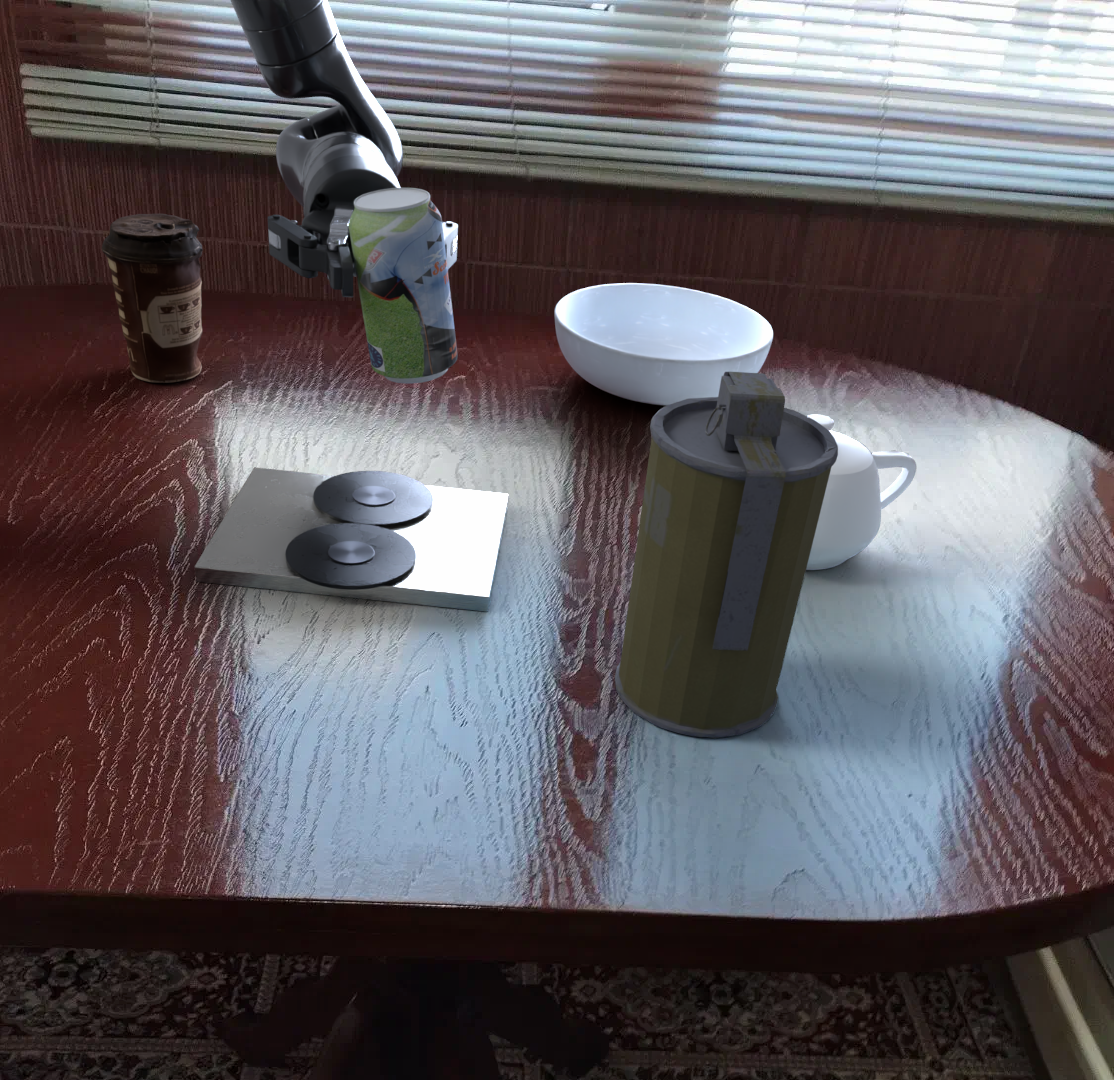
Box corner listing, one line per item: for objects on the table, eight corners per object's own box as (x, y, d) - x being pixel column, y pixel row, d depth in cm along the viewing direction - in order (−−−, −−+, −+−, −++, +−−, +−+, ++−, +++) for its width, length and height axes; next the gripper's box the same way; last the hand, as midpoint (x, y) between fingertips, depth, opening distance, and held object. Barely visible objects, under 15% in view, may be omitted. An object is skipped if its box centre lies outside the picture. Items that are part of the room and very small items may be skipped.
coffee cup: (235, 370, 112) (224, 223, 104) (177, 397, 106) (161, 244, 98) (160, 349, 115) (143, 204, 107) (98, 374, 109) (76, 223, 101)
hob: (191, 589, 81) (188, 568, 80) (258, 475, 96) (256, 456, 95) (486, 619, 81) (488, 599, 80) (509, 501, 96) (510, 483, 95)
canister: (606, 642, 80) (646, 346, 68) (758, 647, 82) (823, 357, 70) (624, 741, 72) (673, 422, 60) (794, 746, 73) (876, 434, 61)
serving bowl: (505, 372, 118) (509, 301, 114) (652, 337, 130) (661, 272, 126) (657, 449, 106) (668, 373, 102) (803, 403, 118) (819, 333, 114)
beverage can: (465, 391, 83) (473, 207, 76) (358, 394, 81) (356, 205, 74) (446, 358, 88) (452, 181, 80) (344, 359, 86) (341, 178, 78)
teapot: (701, 593, 87) (725, 462, 81) (639, 514, 96) (657, 391, 90) (938, 570, 93) (977, 447, 87) (858, 498, 102) (888, 382, 96)
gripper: (256, 149, 87) (261, 217, 74) (449, 159, 90) (488, 225, 77) (261, 256, 91) (268, 338, 78) (446, 262, 95) (482, 342, 81)
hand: (377, 282), depth 78 cm, fingers closed on beverage can, 3 cm apart
